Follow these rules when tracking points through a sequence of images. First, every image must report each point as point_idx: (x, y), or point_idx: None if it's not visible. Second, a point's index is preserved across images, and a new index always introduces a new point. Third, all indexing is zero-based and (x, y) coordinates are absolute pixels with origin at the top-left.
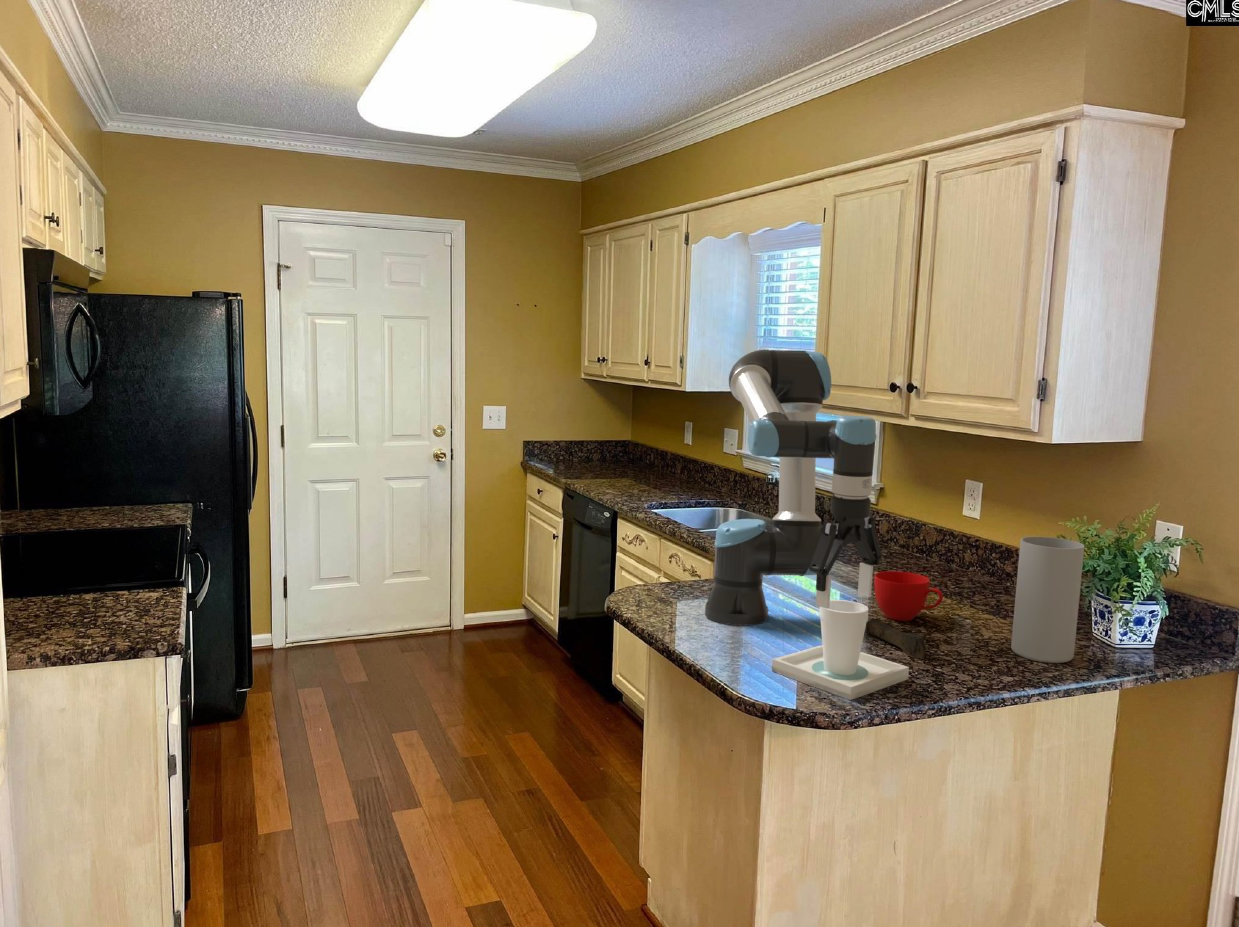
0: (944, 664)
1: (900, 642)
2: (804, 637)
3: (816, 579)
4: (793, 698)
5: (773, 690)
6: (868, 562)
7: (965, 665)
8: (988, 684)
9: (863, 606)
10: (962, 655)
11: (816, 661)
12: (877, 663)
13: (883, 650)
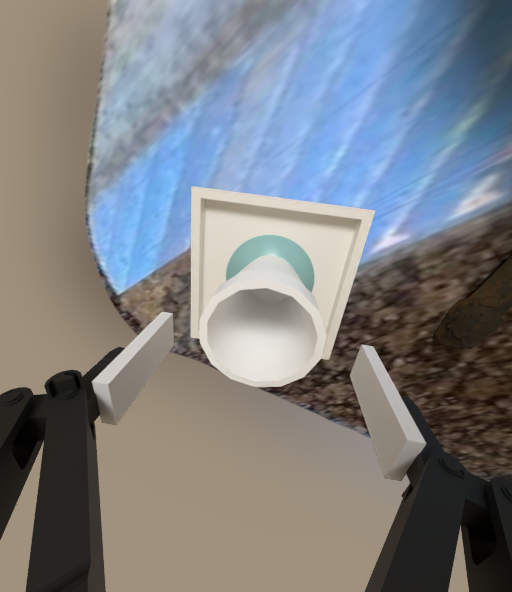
0: (430, 361)
1: (477, 299)
2: (451, 94)
3: (87, 372)
4: (140, 275)
5: (138, 240)
6: (415, 475)
7: (443, 381)
8: None
9: (301, 368)
10: (498, 366)
11: (280, 230)
12: (332, 312)
13: (451, 270)
